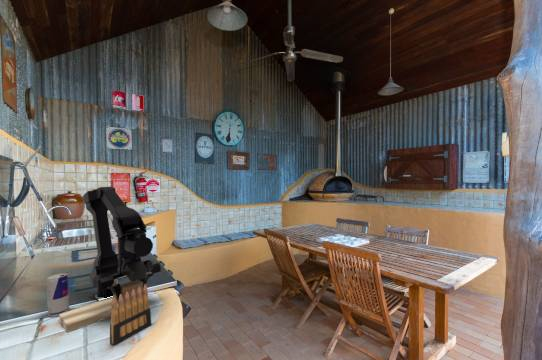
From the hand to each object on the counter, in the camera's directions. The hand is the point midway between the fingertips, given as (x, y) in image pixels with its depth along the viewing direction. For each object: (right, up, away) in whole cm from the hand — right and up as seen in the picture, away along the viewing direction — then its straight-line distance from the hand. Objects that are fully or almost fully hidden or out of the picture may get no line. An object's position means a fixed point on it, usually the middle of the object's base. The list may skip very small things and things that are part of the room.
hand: (130, 300), depth 84 cm
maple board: (-8, -4, +1) cm, 9 cm away
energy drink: (-23, -5, 0) cm, 24 cm away
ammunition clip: (+7, -4, -13) cm, 15 cm away
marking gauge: (-3, -3, +3) cm, 5 cm away
